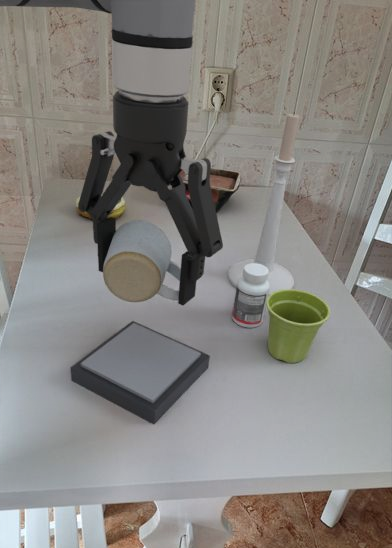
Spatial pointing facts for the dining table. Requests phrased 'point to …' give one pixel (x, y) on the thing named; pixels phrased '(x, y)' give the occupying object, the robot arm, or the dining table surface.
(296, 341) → the plant pot
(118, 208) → the decorated donut
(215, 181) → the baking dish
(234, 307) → the pill bottle
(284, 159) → the candlestick
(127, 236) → the ceramic mug
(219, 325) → the dining table surface
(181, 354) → the scale
